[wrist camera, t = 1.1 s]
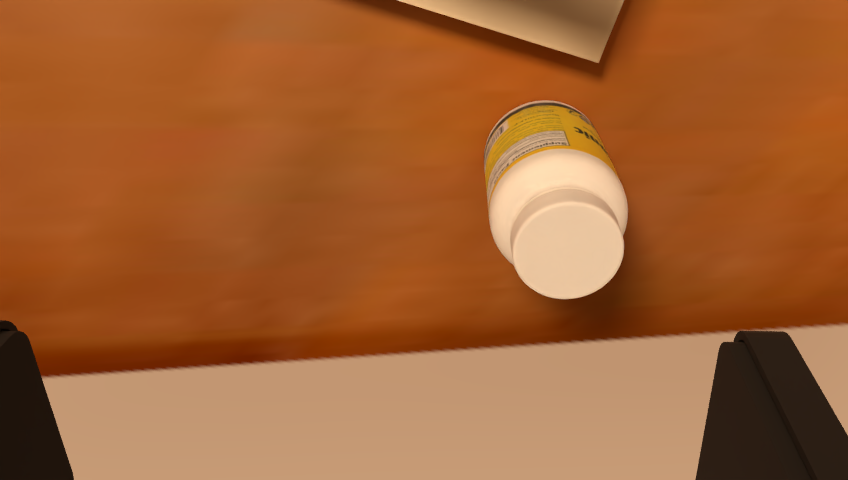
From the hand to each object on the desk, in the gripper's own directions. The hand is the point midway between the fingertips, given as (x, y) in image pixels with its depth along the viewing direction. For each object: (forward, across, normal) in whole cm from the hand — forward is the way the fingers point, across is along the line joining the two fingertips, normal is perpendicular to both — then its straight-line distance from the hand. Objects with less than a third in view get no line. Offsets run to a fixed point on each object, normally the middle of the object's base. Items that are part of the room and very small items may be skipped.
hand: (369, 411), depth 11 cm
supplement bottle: (+26, -4, +7) cm, 28 cm away
